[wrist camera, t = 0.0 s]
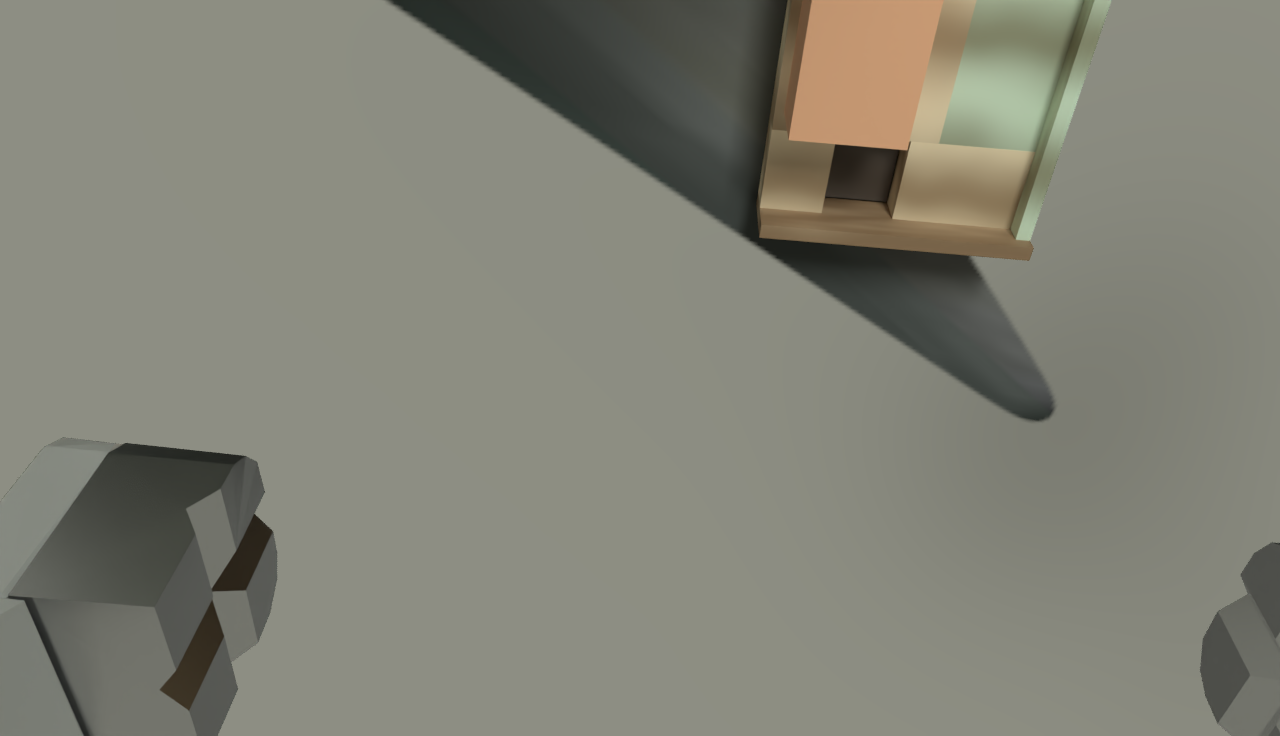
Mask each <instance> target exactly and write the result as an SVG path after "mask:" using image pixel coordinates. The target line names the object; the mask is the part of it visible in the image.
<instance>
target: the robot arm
mask: <svg viewBox="0 0 1280 736" xmlns="http://www.w3.org/2000/svg"><path fill="white" fill-rule="evenodd" d="M264 493H265V491H264V487H263V483H262V479H261V475H260V472H259V467H258V463H257V462H256V461H254V460H252V459H250V458H248V457H246V456H241V455H231V454H222V453H213V452H203V451H194V450H184V449H176V448H167V447H157V446H148V445H138V444H129V443H125V444H116V443H107V442H99V441H90V440H81V439H72V438H64V437H63V438H61V439H59V440H57V441H55V442H53V443H51V444H49V445H47V446H45V447H44V448H43V449H42V450H41V451H40V452H39V453H38V455H37V456H36V457H35V458H34V460H33V461H32V462H31V463H30V465H29V466H28V467H27V468H26V470H25V471H24V472H23V474H22V475H21V476H20V477H19V479H18V480H17V481H16V482H15V484H14V485H13V486H12V487H11V488H10V490H9V491H8V492H7V493H6V495H5V496H4V497H3V498H2V500H1V501H0V736H218V733H219V731H220V729H221V726H222V724H223V722H224V720H225V717H226V715H227V713H228V711H229V708H230V706H231V704H232V701H233V699H234V697H235V695H236V692H237V690H238V688H237V684H236V680H235V676H234V672H233V668H232V664H231V662H232V661H234V660H235V659H236V658H238V657H239V656H240V655H242V654H243V653H244V652H246V651H247V650H249V649H250V648H251V647H253V646H254V645H255V644H257V643H258V641H259V639H260V636H261V634H262V631H263V629H264V627H265V624H266V622H267V619H268V617H269V614H270V610H271V606H272V601H273V596H274V591H275V586H276V581H277V550H276V545H275V539H274V534H273V531H272V530H271V529H270V528H269V527H268V526H267V525H266V524H265V523H264V522H263V521H262V520H260V519H259V518H258V517H257V516H256V515H255V514H254V513H255V511H256V509H257V507H258V505H259V503H260V501H261V499H262V497H263V495H264ZM1241 577H1242V580H1243V583H1244V585H1245V588H1246V590H1247V593H1248V594H1247V595H1246V596H1244V597H1242V598H1240V599H1239V600H1237V601H1235V602H1233V603H1231V604H1230V605H1228V606H1226V607H1224V608H1223V609H1221V610H1219V611H1218V612H1217V614H1216V615H1215V617H1214V619H1213V621H1212V623H1211V625H1210V627H1209V629H1208V630H1207V632H1206V634H1205V636H1204V638H1203V645H1202V656H1201V667H1200V672H1201V677H1202V681H1203V686H1204V691H1205V696H1206V698H1207V701H1208V703H1209V705H1210V707H1211V710H1212V712H1213V714H1214V716H1215V719H1216V721H1217V723H1218V724H1219V725H1220V726H1221V727H1222V728H1223V729H1224V730H1225V731H1227V732H1228V733H1229V734H1230V735H1231V736H1280V543H1273V542H1272V543H1270V544H1269V545H1267V546H1265V547H1263V548H1262V549H1260V550H1259V551H1257V552H1255V553H1254V554H1253V556H1252V558H1251V559H1250V561H1249V562H1248V564H1247V565H1246V567H1245V568H1244V570H1243V571H1242V573H1241Z"/></svg>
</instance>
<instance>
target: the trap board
mask: <svg viewBox="0 0 1280 736" xmlns="http://www.w3.org/2000/svg"><path fill="white" fill-rule="evenodd" d="M1111 1H1112V0H944V1H943V5H942V9H941V13H940V17H939V22H938V26H937V30H936V34H935V38H934V42H933V46H932V50H931V54H930V59H929V63H928V67H927V71H926V75H925V79H924V83H923V87H922V91H921V96H920V100H919V104H918V108H917V112H916V116H915V120H914V124H913V129H912V133H911V137H910V141H909V145H908V149H907V150H898V149H886V148H874V147H863V146H851V145H839V144H828V143H816V142H804V141H792V140H788V134H787V128H786V121H785V115H784V110H785V104H786V98H787V92H788V85H789V79H790V73H791V67H792V61H793V55H794V48H795V42H796V36H797V30H798V24H799V17H800V11H801V5H802V0H788V1H787V7H786V14H785V20H784V27H783V33H782V40H781V46H780V53H779V59H778V66H777V72H776V79H775V86H774V92H773V99H772V105H771V112H770V118H769V125H768V131H767V138H766V144H765V151H764V157H763V164H762V170H761V177H760V184H759V190H758V197H757V203H756V205H757V216H758V228H759V238H770V239H781V240H793V241H805V242H816V243H828V244H840V245H852V246H863V247H875V248H887V249H898V250H910V251H922V252H934V253H945V254H957V255H969V256H981V257H993V258H1004V259H1015V260H1027V261H1029V260H1030V257H1031V254H1032V252H1033V249H1034V248H1033V246H1032V244H1031V242H1030V239H1031V236H1032V233H1033V230H1034V227H1035V225H1036V222H1037V219H1038V216H1039V213H1040V210H1041V207H1042V204H1043V201H1044V198H1045V195H1046V192H1047V189H1048V186H1049V183H1050V180H1051V177H1052V174H1053V171H1054V169H1055V166H1056V163H1057V160H1058V157H1059V154H1060V151H1061V148H1062V145H1063V142H1064V139H1065V136H1066V133H1067V130H1068V127H1069V124H1070V121H1071V119H1072V116H1073V113H1074V110H1075V107H1076V104H1077V101H1078V98H1079V95H1080V92H1081V89H1082V86H1083V83H1084V81H1085V77H1086V75H1087V72H1088V68H1089V65H1090V63H1091V60H1092V57H1093V54H1094V51H1095V48H1096V45H1097V42H1098V39H1099V36H1100V33H1101V30H1102V28H1103V25H1104V22H1105V19H1106V16H1107V13H1108V10H1109V7H1110V4H1111ZM898 151H899V155H898ZM897 155H898V159H897ZM896 159H897V163H896ZM895 163H896V167H895ZM894 168H895V171H894ZM893 172H894V176H893ZM892 176H893V180H892ZM891 180H892V184H891ZM890 184H891V188H890ZM889 189H890V192H889ZM888 193H889V197H888ZM828 197H837V198H828ZM887 197H888V201H887ZM839 198H849V199H839ZM851 199H860V200H851ZM863 200H872V201H863ZM874 201H884V202H874ZM886 201H887V203H886Z"/></svg>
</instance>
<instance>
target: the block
mask: <svg viewBox="0 0 1280 736" xmlns="http://www.w3.org/2000/svg"><path fill="white" fill-rule="evenodd" d="M943 1H944V0H802V5H801V11H800V17H799V24H798V30H797V36H796V42H795V48H794V55H793V61H792V67H791V73H790V79H789V85H788V92H787V98H786V104H785V110H784V115H785V121H786V128H787V134H788V140H792V141H804V142H816V143H828V144H839V145H851V146H863V147H874V148H886V149H898V150H907V149H908V145H909V141H910V137H911V133H912V129H913V124H914V120H915V116H916V112H917V108H918V104H919V100H920V96H921V91H922V87H923V83H924V79H925V75H926V71H927V67H928V63H929V59H930V54H931V50H932V46H933V42H934V38H935V34H936V30H937V26H938V22H939V17H940V13H941V9H942V5H943Z"/></svg>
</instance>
